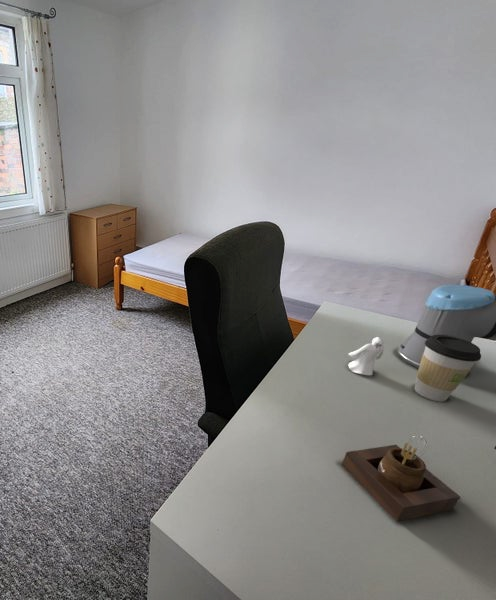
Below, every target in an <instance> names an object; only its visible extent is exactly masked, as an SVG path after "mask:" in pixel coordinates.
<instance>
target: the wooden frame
mask: <svg viewBox="0 0 496 600" xmlns="http://www.w3.org/2000/svg"><path fill="white" fill-rule="evenodd" d="M392 448H401V447H400V446H399V445H397V444H391V445H383V446H377V447H371V448H365V449H358V450H351V451H346V452H345V455H344V457H343V459H342V462H341V466H342V468H344V470H346V472H348V473H349V475H350V476H352V478H353V479H354V480H356V481H357V482H358V484H360V485H361V487H363V488H364V489H365V491H366V492H367V493H368V494H369V495H370V496H371V497H372V498H373V499H374V500H375V501H376V502H377V503H378V504H379V505H380V506H381V507H382V508H383V509H384V510H385V511H386V512H387V513H388V514H389V515H390V516H391V517H392V518H393V520H395V521H396V522H399V521H404V520H410V519H415V518H419V517H426V516H430V515H435V514H440V513H445V512H446V513H447V512H451V511H453V510H454V508H455V507H456V505H457V503H458V502H459V500H460V499H461V496H460V495H459V494H458V493H457V492H455V491H454V490H453V489H452V488H451V487H450V486H448V485H447V484H446V483H445V482H443V481H442V480H441V479H439V478H438V477H437V476H436V475H435V474H434V473H432V472H431V471H430V470H428V468H426V470H425V473H424V474H423V475H424V479H423V482H422V484H421V486H420V488H419V490H418V491H414V492H408V493H402V492H400V491H399V490H398V489H397V488H396V487H395V486H394V485H393V484H392V483H391V482H390V481H389V480H387V479H386V478H385V477H384V476H383V475H382V474H381V473H380V472H379V471H378V470H377V468H378V466H379V464H380V462H381V460H382V459H383V457H384V456H386V455H387V453H388V452H389V450H390V449H392Z"/></svg>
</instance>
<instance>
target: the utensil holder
mask: <svg viewBox="0 0 496 600" xmlns="http://www.w3.org/2000/svg"><path fill="white" fill-rule="evenodd" d="M413 437H414V438H413ZM412 438H413V440H411V439H409V441H408V442H405V443H404V445H403V447H402V448H401V447H400V448H392V449H390V450H389V452H388V453H387V455H386V456H384V457H383V459H382V460H381V462H380V464H379V466H378V468H377V470H378V471H379V472H380V473H381V474H382V475H383V476H384V477H385V478H386V479H387V480H389V481H390V482H391V483H392V484H393V485H394V486H395V487H396V488H397V489H398V490H399V491H400V492H402V493H408V492H414V491H418V490H419V488H420V486H421V484H422V482H423V479H424V475H423V474H424V473H425V470H426V469H427V465H426V463H425V462H424V460H423V459H422V458H421V457H422V456H423V455H424V453H425V451H426V450H427V448H428V446H427V444H428V442H427V440H426V439H425V438H424V437H422V436H419V435H414V436H412ZM415 439H419V440H418V441H417V444H416V447H414V448H413V445H412V444H413V441H414V440H415ZM410 440H411V442H410ZM422 440H423V442H425V443H424V444H423V445H422V448H421V450H420V452H419V453H418V454H416V452H417V448H418V447H419V445H420V442H421V441H422ZM425 446H426V448H425ZM412 448H413V450H412ZM411 450H412V451H411ZM423 450H424V451H423ZM422 452H423V453H422ZM421 453H422V454H421ZM420 454H421V455H420Z"/></svg>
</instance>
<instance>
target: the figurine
mask: <svg viewBox="0 0 496 600" xmlns="http://www.w3.org/2000/svg"><path fill="white" fill-rule="evenodd" d="M383 344H384V341H383V339H382V337H379V336H375V337H374V338H372V340H371V343H366V344H364V345H363V346H362V347H360V348H358V349H357V350H354V351H350V352H349V353H347V356H349V357H351V358H357V357H358V358H357V359H356V360H352V361H350V362H349V363H348V364H347V367H348V369H350V371H351V372H353V373H355V374H360V375H364V376H374V374H373V371H374V365H375V361H376V360H380V359H381V358H382V356H383V354H384V351H385V347H384V345H383Z"/></svg>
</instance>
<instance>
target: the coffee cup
mask: <svg viewBox="0 0 496 600" xmlns="http://www.w3.org/2000/svg"><path fill="white" fill-rule="evenodd" d="M425 345H426V347H425V351H424V352H423V355H422V359H421V362H420V366H419V369H417V370H418V371H417V374H416V381H415V385H414V391H415V392H416V393H417V394H418V395H420V396H422V397H423V398H426V399H427V400H431V401H434V402H446V401H447V400H448V398H449V397H450V396H451V394H453V392H454V391H455V390H457V388H458V387H459V385H460V384H461V383H462V381H463V380H464V379H465V377H467V375H468V374H469V372H470V371H471V370H472V368H473V366H474V364H476V362H478V361H481V359H482V353H481V348H480V347H479V346H478V345H476V344H475V343H473V342H469V341H466V340H463V339H460V338H457V337H453V336H448V335H433V336H431V337H430V338H429V339H427V340H426V341H425Z"/></svg>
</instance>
